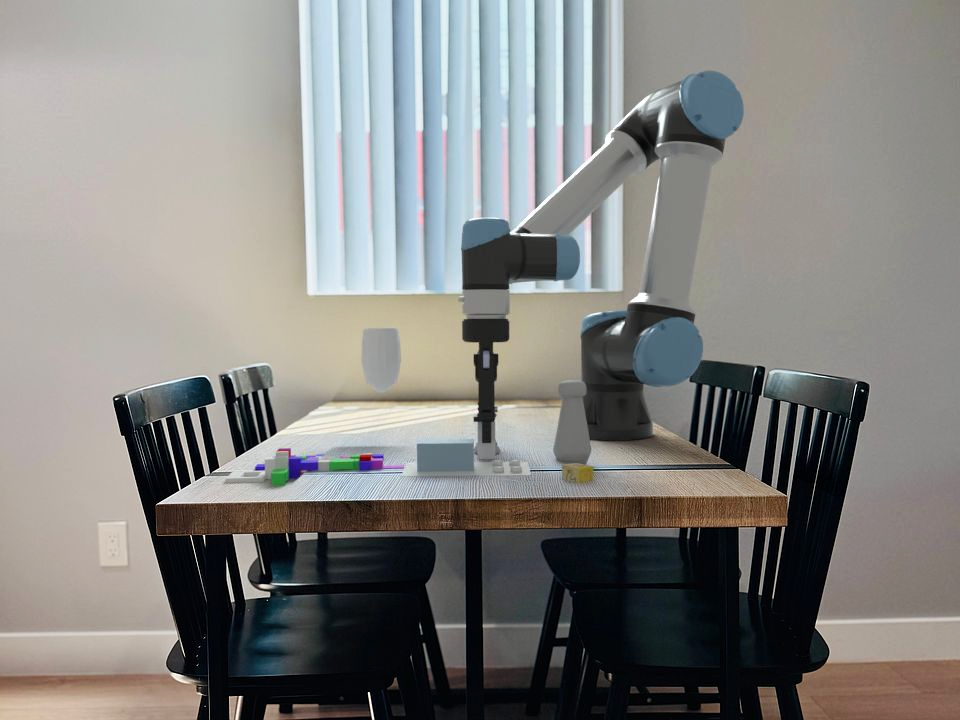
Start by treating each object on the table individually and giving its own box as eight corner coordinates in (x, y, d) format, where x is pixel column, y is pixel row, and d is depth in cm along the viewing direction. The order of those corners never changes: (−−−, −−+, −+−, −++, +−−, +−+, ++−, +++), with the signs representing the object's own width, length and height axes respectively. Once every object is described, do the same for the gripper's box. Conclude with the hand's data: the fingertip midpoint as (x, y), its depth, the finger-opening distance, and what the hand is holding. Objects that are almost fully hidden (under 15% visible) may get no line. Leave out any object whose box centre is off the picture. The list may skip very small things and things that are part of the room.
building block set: (403, 459, 132) (403, 432, 132) (405, 485, 112) (405, 453, 112) (248, 463, 130) (247, 435, 129) (221, 491, 109) (220, 458, 109)
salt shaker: (578, 470, 119) (578, 382, 118) (546, 466, 122) (545, 381, 121) (598, 464, 123) (598, 380, 122) (566, 460, 127) (565, 378, 126)
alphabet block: (576, 484, 110) (576, 462, 110) (593, 487, 107) (593, 465, 107) (561, 487, 108) (561, 464, 108) (578, 491, 105) (578, 468, 105)
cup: (366, 438, 150) (364, 327, 149) (404, 438, 150) (403, 327, 149) (359, 444, 143) (357, 328, 142) (399, 444, 143) (397, 328, 142)
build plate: (527, 468, 121) (527, 457, 121) (531, 482, 111) (531, 470, 111) (407, 469, 121) (407, 458, 121) (401, 483, 111) (400, 471, 111)
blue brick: (473, 465, 118) (473, 438, 117) (473, 471, 114) (473, 443, 113) (419, 466, 118) (419, 439, 117) (417, 471, 114) (416, 443, 113)
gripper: (463, 316, 138) (464, 446, 139) (460, 317, 116) (461, 471, 118) (507, 316, 138) (507, 446, 139) (512, 317, 116) (512, 470, 118)
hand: (486, 457), depth 129 cm, fingers open, 9 cm apart
